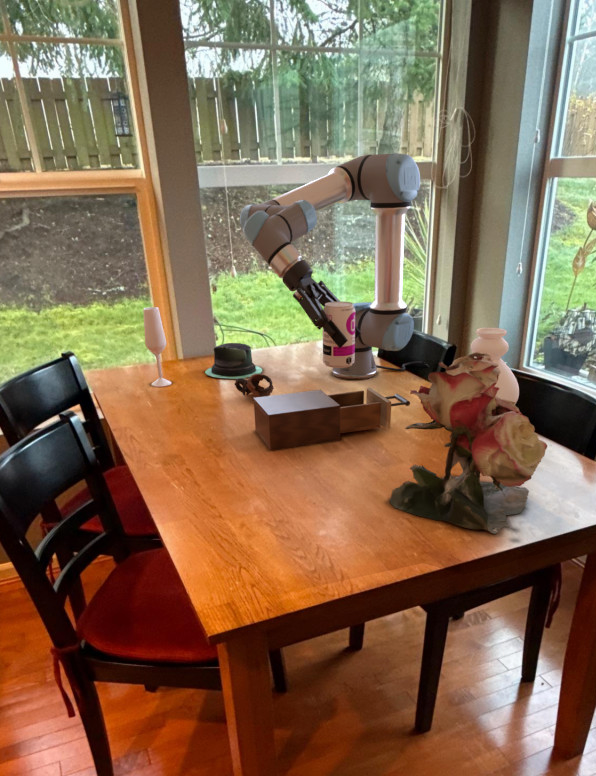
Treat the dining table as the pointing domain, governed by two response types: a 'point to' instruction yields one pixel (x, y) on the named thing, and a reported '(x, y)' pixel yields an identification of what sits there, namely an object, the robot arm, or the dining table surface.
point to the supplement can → (345, 322)
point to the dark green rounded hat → (233, 362)
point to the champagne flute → (155, 339)
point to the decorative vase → (497, 360)
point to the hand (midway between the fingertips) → (350, 340)
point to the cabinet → (297, 419)
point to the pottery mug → (254, 386)
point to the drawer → (365, 410)
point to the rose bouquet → (473, 449)
